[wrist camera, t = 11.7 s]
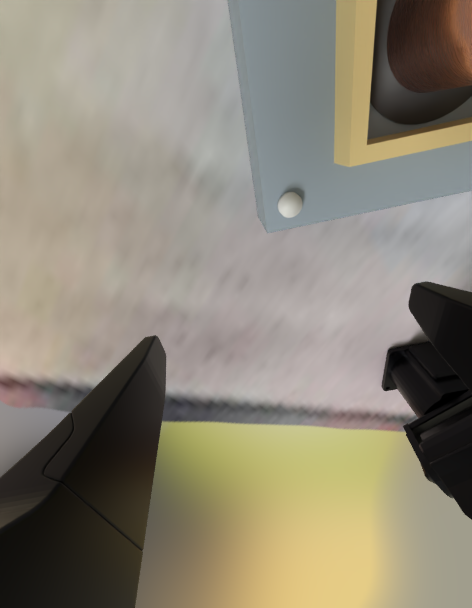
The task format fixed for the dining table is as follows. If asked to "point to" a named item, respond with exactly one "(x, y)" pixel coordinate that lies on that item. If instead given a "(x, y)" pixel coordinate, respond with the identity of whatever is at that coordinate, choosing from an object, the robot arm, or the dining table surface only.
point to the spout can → (431, 44)
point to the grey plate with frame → (340, 114)
